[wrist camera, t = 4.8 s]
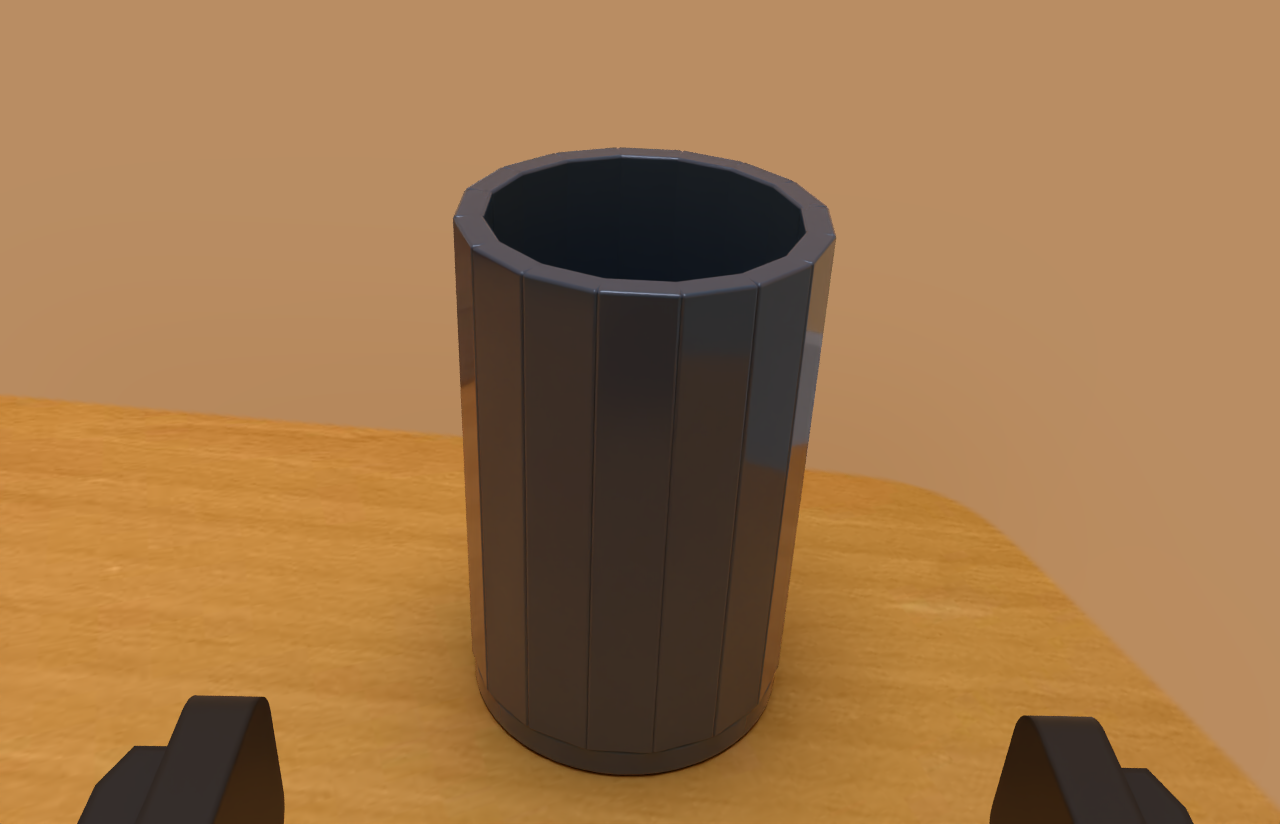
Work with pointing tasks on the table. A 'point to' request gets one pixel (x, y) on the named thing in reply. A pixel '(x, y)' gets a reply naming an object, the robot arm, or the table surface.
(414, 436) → the table surface
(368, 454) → the table surface
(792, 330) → the cup
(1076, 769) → the robot arm
